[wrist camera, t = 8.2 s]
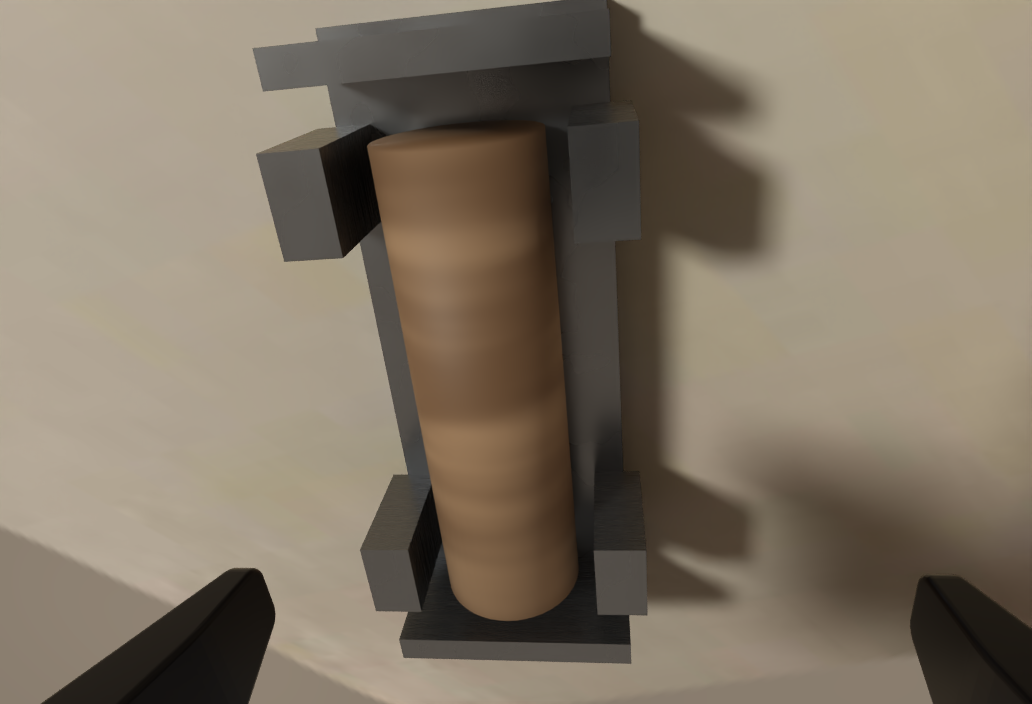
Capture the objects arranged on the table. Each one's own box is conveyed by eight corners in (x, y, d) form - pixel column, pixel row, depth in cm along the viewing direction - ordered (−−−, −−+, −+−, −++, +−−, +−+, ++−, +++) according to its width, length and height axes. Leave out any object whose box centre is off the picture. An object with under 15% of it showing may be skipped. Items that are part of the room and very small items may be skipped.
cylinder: (392, 128, 17) (342, 158, 14) (549, 114, 17) (540, 141, 13) (461, 526, 23) (438, 620, 19) (579, 524, 22) (578, 621, 19)
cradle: (627, -7, 16) (636, -13, 12) (640, 561, 24) (648, 671, 20) (311, 29, 17) (224, 34, 13) (423, 560, 25) (390, 663, 21)
